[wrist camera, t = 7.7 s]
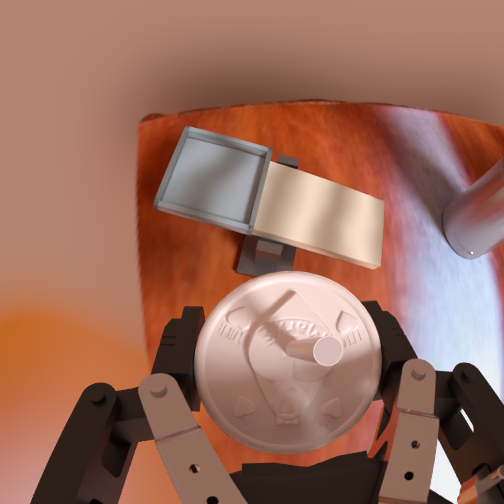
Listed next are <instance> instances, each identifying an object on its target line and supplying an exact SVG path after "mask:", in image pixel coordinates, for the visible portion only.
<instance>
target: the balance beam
mask: <svg viewBox="0 0 504 504" xmlns="http://www.w3.org/2000/svg"><path fill="white" fill-rule="evenodd" d="M188 137H190V138H188ZM191 138H195V139H199V140H203V141H207V142H211V143H215V144H219V145H222V146H219V145H215V144H211V143H207V142H203V141H199V140H195V139H191ZM223 146H226V147H223ZM227 147H230V148H233V149H230V148H227ZM234 149H237V150H234ZM238 150H241V151H244V152H241V151H238ZM245 152H248V153H251V154H248V153H245ZM272 152H273V149H271V148H267V147H264V146H261V145H257V144H254V143H251V142H247V141H243V140H240V139H236V138H233V137H229V136H225V135H221V134H217V133H213V132H209V131H205V130H201V129H197V128H193V127H188V126H186V127H185V129H184V131H183V133H182V135H181V137H180V140H179V142H178V144H177V146H176V149H175V151H174V153H173V155H172V158H171V160H170V162H169V165H168V167H167V170H166V172H165V174H164V177H163V179H162V182H161V184H160V187H159V189H158V192H157V194H156V197H155V200H154V202H153V207H154V209H155V210H159V211H162V212H166V213H170V214H174V215H177V216H181V217H185V218H188V219H192V220H196V221H199V222H203V223H207V224H210V225H214V226H218V227H221V228H225V229H228V230H232V231H236V232H239V233H243V234H246V235H250V236H251V234H253V235H257V236H260V237H264V238H267V239H271V240H274V241H278V242H281V243H285V244H288V245H292V246H295V247H299V248H302V249H306V250H309V251H313V252H316V253H319V254H323V255H326V256H330V257H333V258H336V259H340V260H343V261H347V262H350V263H353V264H357V265H360V266H363V267H367V268H370V269H375V268H378V267H380V265H381V253H382V239H383V222H384V201H382V200H379V199H377V198H374V197H372V196H369V195H366V194H364V193H361V192H359V191H356V190H353V189H351V188H348V187H345V186H343V185H340V184H337V183H334V182H332V181H329V180H326V179H323V178H320V177H318V176H315V175H312V174H309V173H306V172H303V171H300V170H297V169H294V168H291V167H287V166H284V165H281V164H278V163H275V162H271V161H270V160H271V156H272ZM252 154H255V155H258V156H255V155H252ZM259 156H261V157H259ZM262 157H265V158H262Z"/></svg>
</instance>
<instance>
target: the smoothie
mask: <svg viewBox="0 0 504 504" xmlns="http://www.w3.org/2000/svg"><path fill="white" fill-rule="evenodd" d="M381 368H382V352H381V344H380V339H379V336H378V332H377V329H376V327H375V325H374V322H373V320H372V318H371V317H370V315H369V313H368V312H367V310H366V309H365V307H364V306H363V305H362V304H361V302H360V301H359V300H358V299H357V298H356V297H355V296H354V295H353V294H352V293H350V292H349V291H348V290H347V289H345V288H344V287H342V286H341V285H339V284H338V283H336V282H334V281H332V280H330V279H327V278H325V277H322V276H319V275H316V274H312V273H307V272H299V271H283V272H275V273H270V274H266V275H262V276H259V277H257V278H254V279H251V280H249V281H247V282H245V283H243V284H242V285H240V286H239V287H237V288H235V289H234V290H233V291H231V292H230V293H229V294H228V295H227V296H225V297H224V298H223V299H222V300H221V301H220V302H219V303H218V305H217V306H216V307H215V308H214V309H213V311H212V312H211V314H210V315H209V317H208V318H207V320H206V322H205V323H204V326H203V328H202V330H201V332H200V335H199V338H198V341H197V345H196V350H195V357H194V373H195V381H196V386H197V390H198V393H199V396H200V398H201V401H202V403H203V405H204V407H205V409H206V411H207V412H208V414H209V415H210V417H211V418H212V420H213V421H214V422H215V423H216V424H217V425H218V426H219V427H220V428H221V429H222V430H223V431H224V432H225V433H226V434H227V435H229V436H230V437H231V438H233V439H234V440H236V441H238V442H239V443H241V444H243V445H245V446H247V447H250V448H252V449H255V450H258V451H262V452H266V453H272V454H298V453H304V452H309V451H313V450H316V449H318V448H321V447H324V446H326V445H328V444H330V443H332V442H334V441H335V440H337V439H339V438H340V437H341V436H343V435H344V434H346V433H347V432H348V431H349V430H350V429H351V428H353V427H354V425H355V424H356V423H357V422H358V421H359V420H360V419H361V418H362V416H363V415H364V414H365V412H366V411H367V409H368V408H369V406H370V404H371V402H372V400H373V398H374V396H375V393H376V391H377V388H378V385H379V381H380V376H381Z"/></svg>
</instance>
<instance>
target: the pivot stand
mask: <svg viewBox="0 0 504 504" xmlns="http://www.w3.org/2000/svg"><path fill="white" fill-rule="evenodd" d="M276 163H278V164H281V165H284V166H287V167H291V168H294V169H298V164H299V159H297V158H292V157H287V156H283V155H278V158H277V162H276ZM295 252H296V247H295V246H292V245H288V244H285V243H281V242H278V241H274V240H271V239H267V238H264V237H260V236H257V235H253V234H251V236H250V235H246V236H245V240H244V244H243V248H242V252H241V256H240V260H239V264H238V268H237V274H242V275H246V276H251V277H255V278H257V277H259V276H262V275H266V274H270V273H275V272H283V271H292V268H293V263H294V258H295Z"/></svg>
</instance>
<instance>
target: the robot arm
mask: <svg viewBox="0 0 504 504" xmlns="http://www.w3.org/2000/svg"><path fill="white" fill-rule="evenodd" d="M443 228H444V232H445V235H446V238H447V240H448V242H449V244H450V245H451V247H452V248H453V249H454V251H455V252H457V253H458V254H459V255H460V256H462V257H463V258H466V259H475V258H478V257H480V256H482V255H484V254H486V253H488V252H490V251H491V250H494V249H495V248H497V247H499V246H501V245H503V244H504V156H503V157H502V158H501V159H500V160H499V161H498V162H497V163H496V164H494V165H493V166H492V167H491V168H490V169H489V170H488V171H487V172H486V173H485V174H484V175H482V176H481V177H480V178H479V179H478V180H477V181H476V182H475V183H473V184H472V185H471V186H470V187H469V188H468V189H467V190H465V191H464V192H463V193H462V194H461V195H459V196H458V197H457V198H456V199H455V200H454V201H452V202H451V203H450V204H449V205H448V206H447V207H446V209H445V210H444V214H443ZM360 302H361V304H362V305H363V306H364V307H365V309H366V310H367V312H368V313H369V315H370V317H371V318H372V320H373V322H374V325H375V327H376V329H377V332H378V336H379V339H380V344H381V352H382V368H381V376H380V381H379V385H378V388H377V391H376V393H375V396H374V398H373V401H375V400H381V399H383V402H384V405H383V407H382V410H381V414H380V418H379V422H378V426H377V429H376V433H375V437H374V440H373V444H372V446H371V449H370V451H369V453H368V455H367V451H362V452H357V453H352V454H346V455H340V456H336V457H334V458H331V459H329V460H326V461H323V462H321V463H318V464H315V465H312V466H309V467H302V466H294V465H287V464H280V463H246V464H242V470H241V471H237V472H234V473H231V474H228V473H227V471H226V469H225V468H224V466H223V464H222V463H221V461H220V459H219V458H218V456H217V454H216V452H215V451H214V449H213V447H212V445H211V444H210V442H209V440H208V438H207V437H206V435H205V433H204V431H203V429H202V428H201V427H200V426H199V425H198V424H197V422H196V420H195V418H194V416H193V414H192V411H198V412H200V404H201V398H200V396H199V393H198V390H197V386H196V381H195V373H194V357H195V350H196V345H197V341H198V338H199V335H200V332H201V330H202V328H203V326H204V323H205V316H204V309H203V307H202V306H185V307H184V309H183V313H182V317H181V319H171V320H170V322H169V323H168V324H167V325H166V326H165V328H164V331H163V334H162V338H161V341H160V346H159V348H158V351H157V355H156V358H155V362H154V365H153V369H152V372H151V375H150V376H148V377H146V378H145V379H144V380H143V381H142V382H141V383H140V385H139V386H138V387H136V388H132V389H126V390H121V391H115V389H114V388H113V387H112V386H111V385H109V384H106V383H95V384H92V385H90V386H88V387H87V388H86V389H85V390H84V391H83V393H82V395H81V397H80V398H79V400H78V402H77V404H76V406H75V408H74V410H73V412H72V414H71V416H70V418H69V419H68V421H67V423H66V425H65V427H64V430H63V431H62V434H61V436H60V437H59V440H58V442H57V444H56V446H55V448H54V450H53V452H52V454H51V456H50V459H49V461H48V463H47V465H46V468H45V470H44V472H43V474H42V477H41V479H40V481H39V483H38V486H37V488H36V490H35V493H34V495H33V498H32V500H31V503H30V504H118V502H119V498H120V495H121V492H122V489H123V486H124V483H125V479H126V476H127V474H128V471H129V467H130V465H131V461H132V459H133V456H134V453H135V450H136V447H137V444H138V442H141V441H147V440H153V439H155V444H156V447H157V449H158V452H159V454H160V456H161V459H162V461H163V464H164V466H165V468H166V470H167V473H168V475H169V477H170V479H171V481H172V483H173V485H174V488H175V489H176V492H177V494H178V496H179V498H180V500H181V502H182V504H453V503H452V502H450V501H448V500H447V499H445V498H444V497H442V496H440V495H439V494H437V493H436V492H434V491H433V490H431V489H429V488H430V483H431V478H432V472H433V467H434V460H435V454H436V447H437V438H438V440H439V442H440V444H441V446H442V448H443V449H444V451H445V453H446V455H447V457H448V459H449V461H450V463H451V465H452V467H453V469H454V471H455V474H456V476H457V478H458V480H459V482H460V484H461V489H460V495H459V496H458V498H457V502H458V504H504V405H503V403H502V402H501V400H500V399H499V397H498V396H497V394H496V393H495V392H494V390H493V389H492V387H491V386H490V385H489V383H488V382H487V380H486V379H485V378H484V376H483V375H482V374H481V372H480V371H479V370H478V368H476V367H475V366H474V365H472V364H470V363H459V364H457V365H456V366H455V368H454V369H453V371H452V372H447V371H436V370H434V368H433V366H432V365H431V364H430V363H428V362H427V361H425V360H422V359H418V357H417V355H416V353H415V352H414V350H413V348H412V346H411V344H410V342H409V341H408V339H407V337H406V335H404V332H403V330H402V328H400V327H401V326H400V325H399V323H398V321H397V320H396V318H395V317H394V316H393V315H391V314H390V313H389V312H388V311H382V309H381V307H380V306H379V304H378V302H377V301H376V300H373V301H360ZM462 409H463V410H464V411H465V413H466V415H467V416H468V418H469V419H470V421H471V423H472V425H473V428H474V432H472V430H471V428H470V427H469V425H468V423H467V421H466V420H465V418H464V416H463V415H462V413H461V412H460V411H461V410H462Z"/></svg>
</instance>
